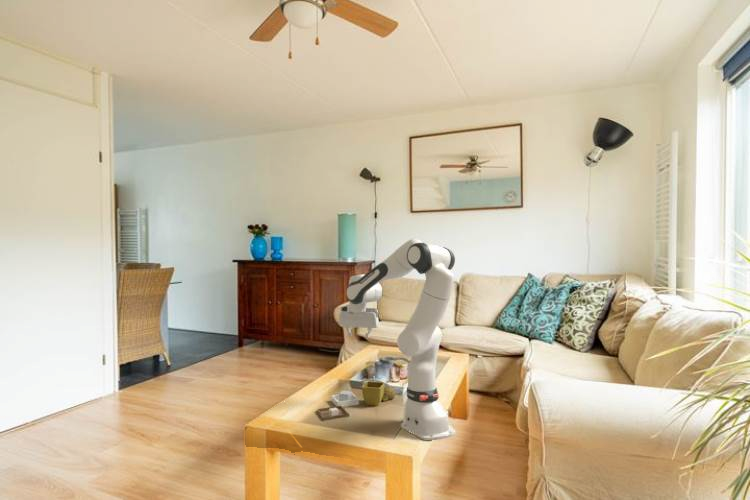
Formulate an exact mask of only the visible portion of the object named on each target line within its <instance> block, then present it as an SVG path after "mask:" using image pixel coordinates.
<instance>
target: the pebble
mask: <svg viewBox="0 0 750 500" xmlns="http://www.w3.org/2000/svg"><path fill="white" fill-rule="evenodd" d="M352 393H353V391H351V390H350V391H349V390H341V391H340V392H339V393H338V395H339V402H340V401H346V400H352Z"/></svg>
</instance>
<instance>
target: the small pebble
mask: <svg viewBox="0 0 750 500" xmlns="http://www.w3.org/2000/svg"><path fill="white" fill-rule="evenodd" d="M337 415H339V410H338V409H337V408H331V409H329V416H330V417H331V416H337Z"/></svg>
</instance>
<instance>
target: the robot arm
mask: <svg viewBox="0 0 750 500" xmlns="http://www.w3.org/2000/svg"><path fill="white" fill-rule="evenodd" d="M455 262H456V257H455V254H454V252H453V251H452V250H451V249H449V248H447V247H445V246H440V245H436V244H433V243H427V242H426V243H425V242H423V241H422V240H420V239H418V238H411V239H409V240H407V241H406V242H404V243H403V244H401V246H399V247H398V248H397V249H396V250H395V251H393V252H392V254H390V255H389V256H388V257H387V258H386V259H384V260H383V261H381V262H380V263H378V264H377V265H376V266H373V268H371V269H369V271H368V272H366V273H358V274H357V273H356V274H353V275H351V276H350V277H349V283H348V286H347V287H346V291H345V295H346V298H347V300H348V304H346V305H343V306H340V307H339V315H338V325H339V326H340V327H341V328H342V327H343V328H344V327H345V331H346V332H347V337H352V336H353V332H352V331H351V330H350V329H351V328H365V329H367V332H366V333H365V338H370V337H371V336H370V335H371V332H372V330H373V329H377V328H378V327H379V326H380V321H379V311H378V309H376V308H374V307H372V308H371V307H368V303H372V302H373V303H374V302H378V301H379V300H381V299H382V297H383V295H384V292H383V291H384V290H383V286H382V285H381V283H380V282H383V281H386V280H391V279H392V280H393V279H398V278H402V277H404V276H406V275H408V274H410V273H411V272H412V271H413V270H414V269H415V270H416V271H417V273H418V274H420V275H425V281H424V285H423V287H422V291H421V293H420V296H419V299H418V301H417V305H416V307H415V310H414V311H413V313H412V315H411V316H410V318H409V320H408V322H407V324H406V326H405V328H404V329H403V330H402V331H401V332H400V334H399V335H398V337H397V343H396V344H397V348H398V350H399V351H400V353H402V354H403V355H404V356H407V357H411V359H410V362H409V364H408V366H407V387H406V397H407V399H406V401H405V404H404V405H403V406H404V407H403V420H402V421H403V422H401V423H400V428H401V429H403V430H405V429H406V430H405V431H407V430H408V431H407V432H409V431H410V432H412V433H414V434H415V435H414V434H413V435H414V436H416V435H417V436H416V437H418V438H419V439H422V440H424V441H436V440H442V439H448V438H450V437H452V436H455V435H456V434H457V432H456V430H455V429H454V427H453V426H452V425H451V424H450V421H449V419H450V418H449V415H450V414H449V411H448V410H445V409H444V407H443V404H441V402H440V399H439V397H440V394H439V392H438V388H437V385H436V370H437V369H436V365H437V361H438V355H439V349H440V345H441V342H442V339H443V332H442V330H441V328H440V327H439V326H438V325H439V324H440V322H441V321H442V320H443V318H444V316H445V313H446V310H447V307H448V304H449V301H450V299H451V296H452V292H453V287H454V282H455V281H454V280H455V275H454V273H453V272H452V269H453V268H454V265H455ZM410 432H409V433H410ZM412 433H411V434H412Z"/></svg>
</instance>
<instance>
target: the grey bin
mask: <svg viewBox="0 0 750 500" xmlns="http://www.w3.org/2000/svg"><path fill="white" fill-rule="evenodd" d="M331 403H333V405H335V406H342V407H343V408H346V407H353V406H359V405H360V398H359V397H357V396H356V395H355V394H354V393H353V392H352V400H346V401H340V402H339V394H333V395H332V394H331Z"/></svg>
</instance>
